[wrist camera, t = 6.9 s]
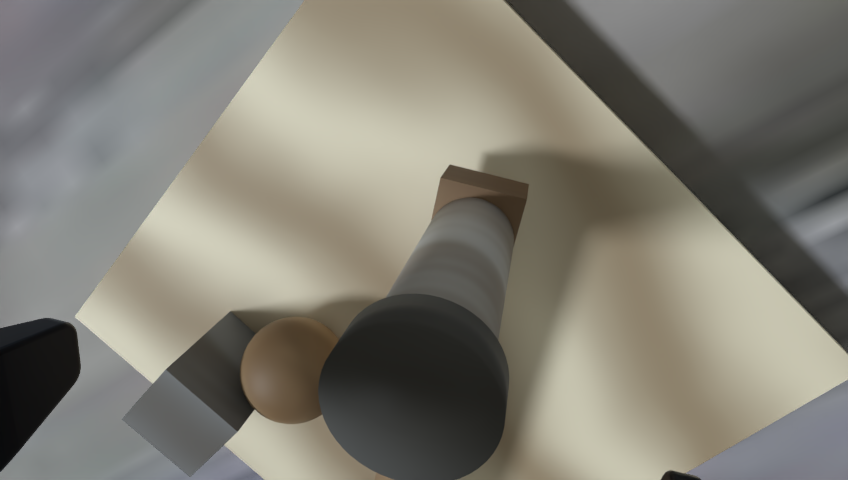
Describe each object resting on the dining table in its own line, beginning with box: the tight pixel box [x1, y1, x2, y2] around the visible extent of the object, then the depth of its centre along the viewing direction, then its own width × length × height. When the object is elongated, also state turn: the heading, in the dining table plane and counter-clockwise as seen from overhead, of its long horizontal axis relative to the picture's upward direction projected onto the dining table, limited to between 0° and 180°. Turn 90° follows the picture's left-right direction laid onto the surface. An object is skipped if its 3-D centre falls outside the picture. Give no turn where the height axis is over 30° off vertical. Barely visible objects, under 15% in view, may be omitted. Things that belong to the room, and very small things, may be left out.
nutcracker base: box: [75, 0, 848, 480], centre depth 19 cm, size 20×20×6 cm
